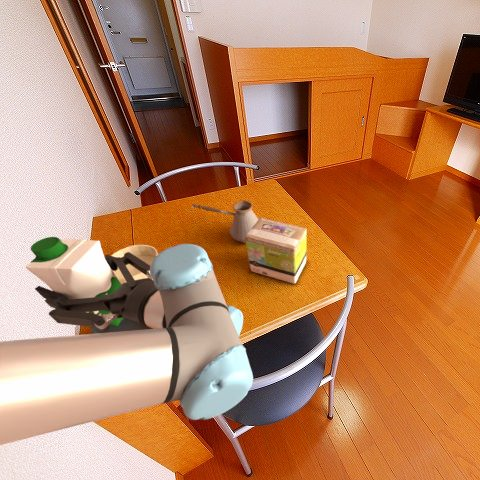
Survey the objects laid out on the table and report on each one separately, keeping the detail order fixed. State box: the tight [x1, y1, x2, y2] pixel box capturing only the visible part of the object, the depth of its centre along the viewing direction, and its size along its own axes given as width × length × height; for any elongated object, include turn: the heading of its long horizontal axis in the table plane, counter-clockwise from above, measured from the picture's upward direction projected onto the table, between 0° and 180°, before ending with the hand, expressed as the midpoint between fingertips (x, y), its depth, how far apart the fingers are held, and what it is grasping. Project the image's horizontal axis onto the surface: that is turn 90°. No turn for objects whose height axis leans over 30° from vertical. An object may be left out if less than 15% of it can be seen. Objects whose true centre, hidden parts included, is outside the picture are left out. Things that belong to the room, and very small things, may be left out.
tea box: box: [245, 216, 308, 285], centre depth 81 cm, size 15×10×15 cm, turn 72°
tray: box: [90, 318, 153, 334], centre depth 66 cm, size 12×12×3 cm
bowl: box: [110, 244, 159, 284], centre depth 82 cm, size 14×14×4 cm
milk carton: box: [25, 236, 123, 327], centre depth 54 cm, size 9×9×20 cm
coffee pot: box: [191, 199, 260, 244], centre depth 92 cm, size 21×12×15 cm, turn 102°
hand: (67, 273), depth 54 cm, fingers closed on milk carton, 9 cm apart
